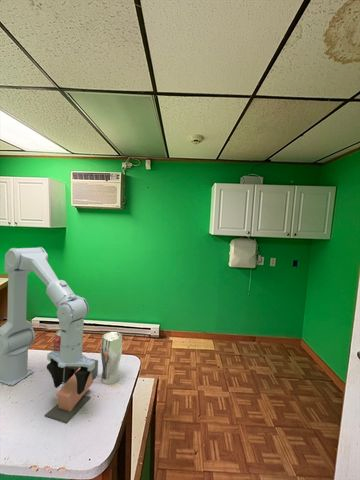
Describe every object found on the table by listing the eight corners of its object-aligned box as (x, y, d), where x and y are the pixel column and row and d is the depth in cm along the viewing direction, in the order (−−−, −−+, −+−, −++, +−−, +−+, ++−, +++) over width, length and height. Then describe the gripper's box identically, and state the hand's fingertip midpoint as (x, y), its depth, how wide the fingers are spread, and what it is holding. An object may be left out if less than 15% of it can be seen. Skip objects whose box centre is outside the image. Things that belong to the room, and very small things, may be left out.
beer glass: (96, 384, 78) (98, 339, 77) (103, 371, 85) (105, 330, 84) (116, 386, 77) (119, 341, 77) (123, 373, 84) (125, 332, 84)
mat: (44, 416, 64) (44, 415, 64) (71, 392, 73) (71, 391, 73) (66, 423, 62) (66, 422, 62) (90, 397, 71) (90, 396, 71)
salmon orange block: (58, 407, 66) (56, 393, 65) (81, 379, 76) (80, 366, 74) (70, 411, 65) (68, 397, 64) (92, 382, 75) (91, 369, 73)
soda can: (66, 374, 82) (67, 337, 81) (48, 370, 83) (49, 334, 83) (78, 363, 89) (80, 329, 88) (61, 360, 90) (63, 326, 90)
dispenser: (58, 381, 78) (59, 363, 78) (73, 369, 85) (73, 353, 85) (84, 388, 76) (85, 370, 75) (97, 375, 82) (98, 358, 82)
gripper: (39, 343, 65) (37, 391, 65) (84, 354, 61) (81, 405, 62) (58, 333, 72) (56, 376, 72) (100, 342, 68) (98, 388, 68)
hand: (69, 388), depth 67 cm, fingers open, 7 cm apart
